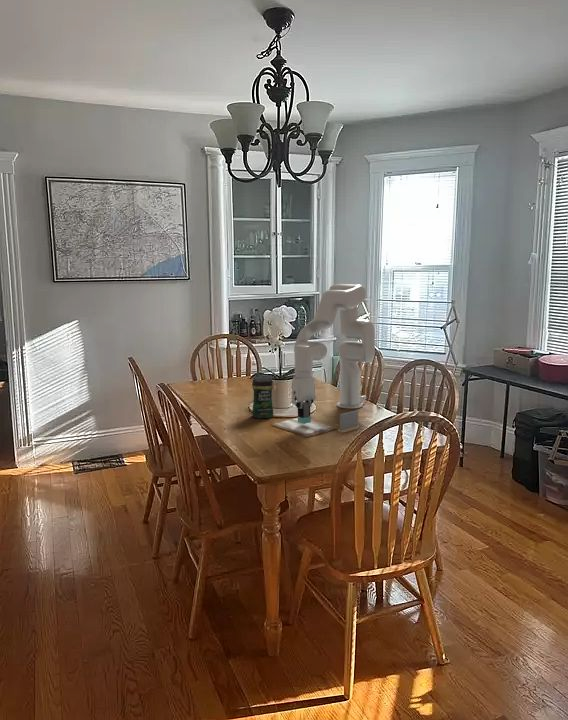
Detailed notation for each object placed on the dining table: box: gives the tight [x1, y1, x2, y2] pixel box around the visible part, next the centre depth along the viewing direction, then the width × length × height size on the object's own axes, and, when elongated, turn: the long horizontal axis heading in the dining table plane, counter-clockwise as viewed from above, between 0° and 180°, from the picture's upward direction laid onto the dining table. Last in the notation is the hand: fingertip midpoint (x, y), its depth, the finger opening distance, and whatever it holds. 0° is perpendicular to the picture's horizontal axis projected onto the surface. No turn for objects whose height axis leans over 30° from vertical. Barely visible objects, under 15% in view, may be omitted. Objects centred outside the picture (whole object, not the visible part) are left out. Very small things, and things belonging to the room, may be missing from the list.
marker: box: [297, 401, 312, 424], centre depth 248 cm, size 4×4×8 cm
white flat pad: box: [271, 417, 338, 439], centre depth 250 cm, size 17×23×2 cm
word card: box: [337, 409, 361, 434], centre depth 245 cm, size 10×3×8 cm, turn 129°
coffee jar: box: [251, 376, 274, 419], centre depth 265 cm, size 10×8×19 cm
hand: (304, 415), depth 248 cm, fingers closed on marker, 3 cm apart
